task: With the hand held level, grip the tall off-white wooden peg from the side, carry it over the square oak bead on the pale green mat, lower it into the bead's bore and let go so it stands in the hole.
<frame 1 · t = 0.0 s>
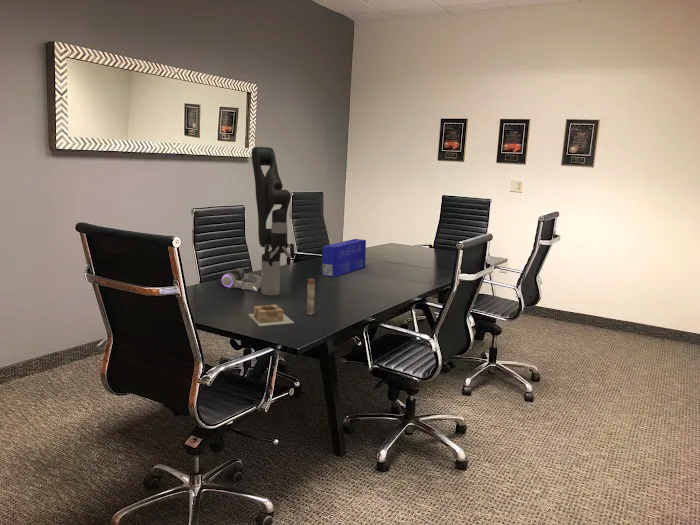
hand: (279, 265, 262), 17 cm above the table, tool pointing down, fingers open, 8 cm apart
toner cartridge box: (344, 272, 338), on the table
mat: (270, 319, 234), on the table
bead: (268, 318, 234), resting on mat
peg: (310, 314, 244), on the table
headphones: (244, 286, 291), on the table
gavel: (328, 265, 360), on the table
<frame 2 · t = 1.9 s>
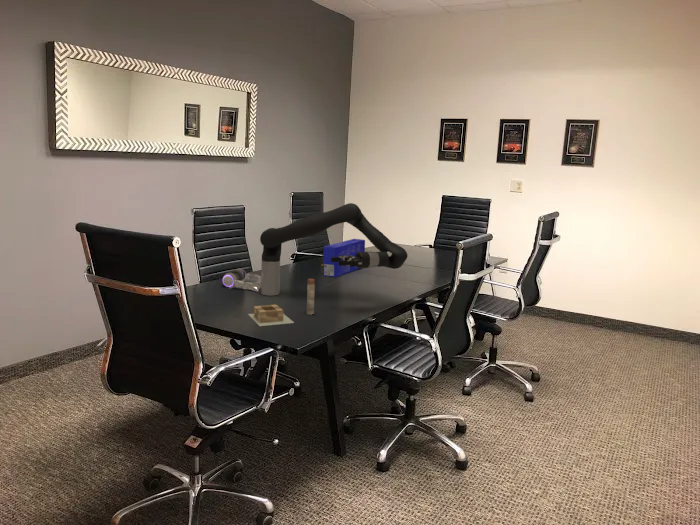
hand: (334, 261, 244), 24 cm above the table, tool horizontal, fingers open, 8 cm apart
nothing on the table moved.
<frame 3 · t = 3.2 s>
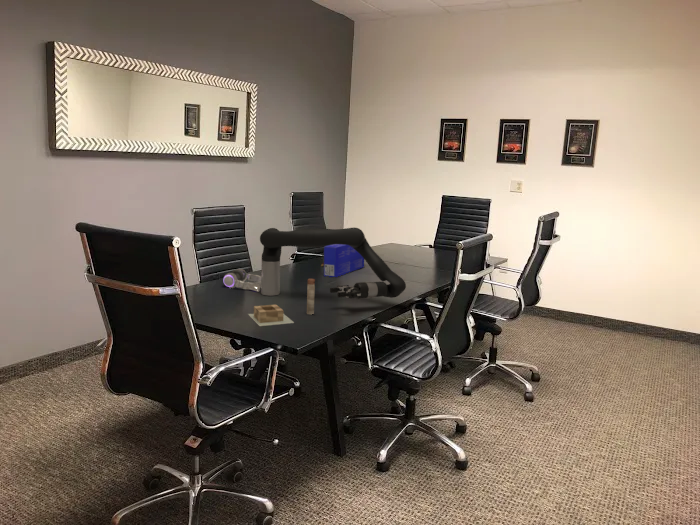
hand: (333, 292, 247), 9 cm above the table, tool horizontal, fingers open, 8 cm apart
nothing on the table moved.
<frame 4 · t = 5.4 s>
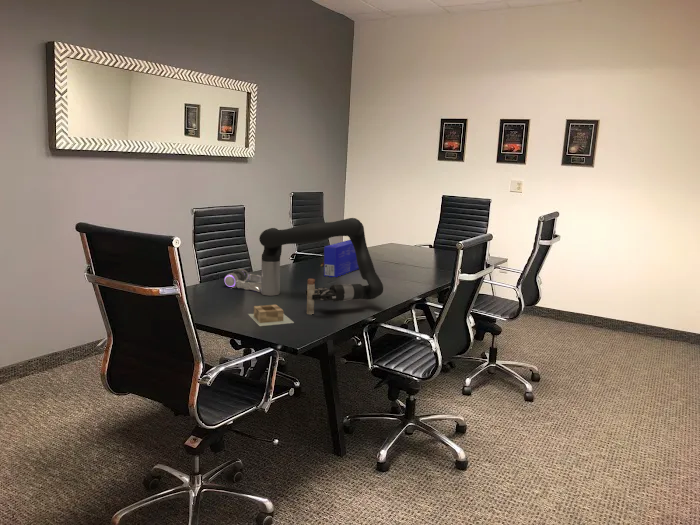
hand: (308, 294, 242), 9 cm above the table, tool horizontal, fingers open, 8 cm apart
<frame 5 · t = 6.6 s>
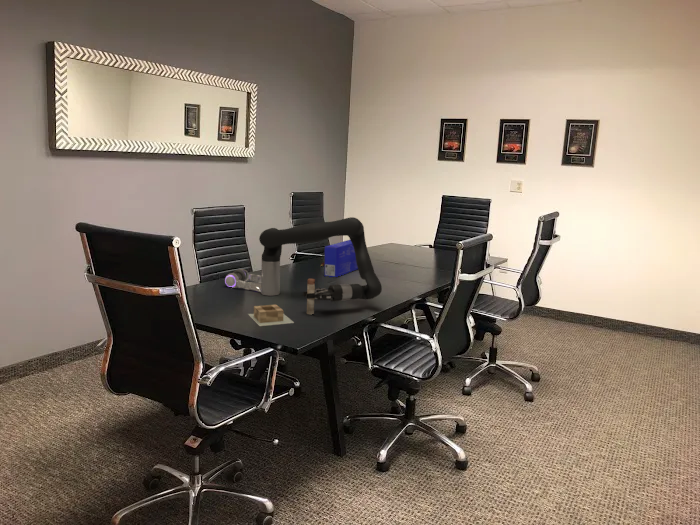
hand: (304, 295, 241), 9 cm above the table, tool horizontal, fingers closed on peg, 3 cm apart
peg: (310, 314, 244), on the table, touching gripper
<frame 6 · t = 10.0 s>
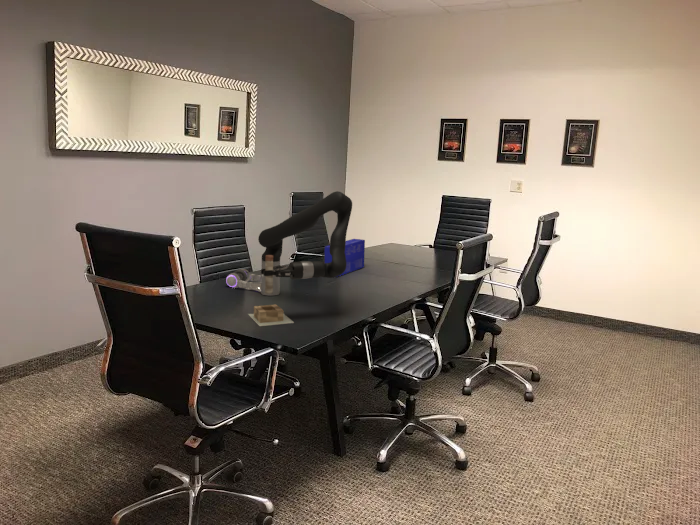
hand: (262, 272, 228), 21 cm above the table, tool horizontal, fingers closed on peg, 3 cm apart
peg: (269, 292, 231), point 12 cm above the table, touching gripper
when the fingers open (12 cm above the table, at t = 12.1 s): peg drops 2 cm, resting on mat.
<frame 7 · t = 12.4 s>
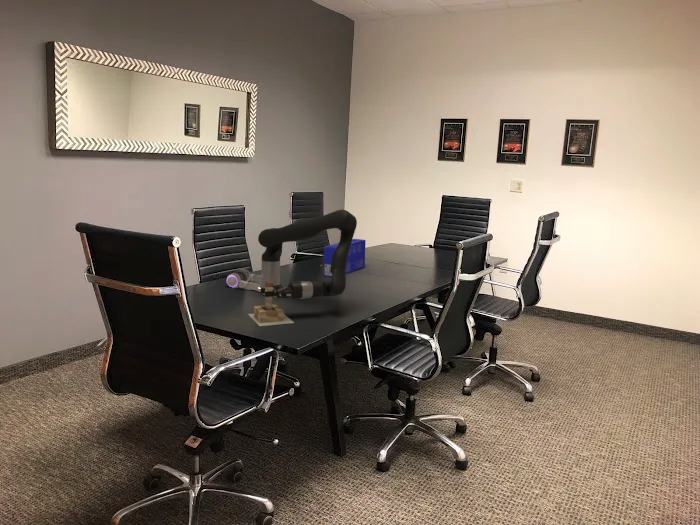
hand: (263, 292, 230), 12 cm above the table, tool horizontal, fingers open, 5 cm apart
peg: (268, 318, 234), resting on mat
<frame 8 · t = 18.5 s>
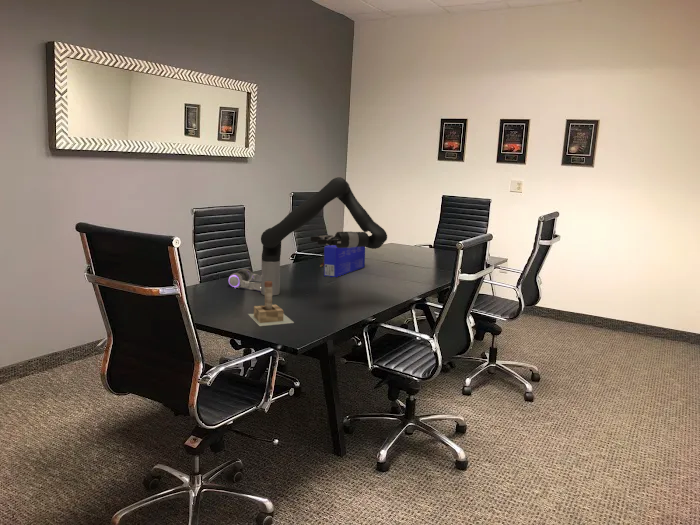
hand: (314, 240, 247), 32 cm above the table, tool horizontal, fingers open, 8 cm apart
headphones: (251, 287, 291), on the table
at the end: peg 0.1 cm from the bead (horizontally); peg resting on mat; the gripper is holding nothing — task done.
